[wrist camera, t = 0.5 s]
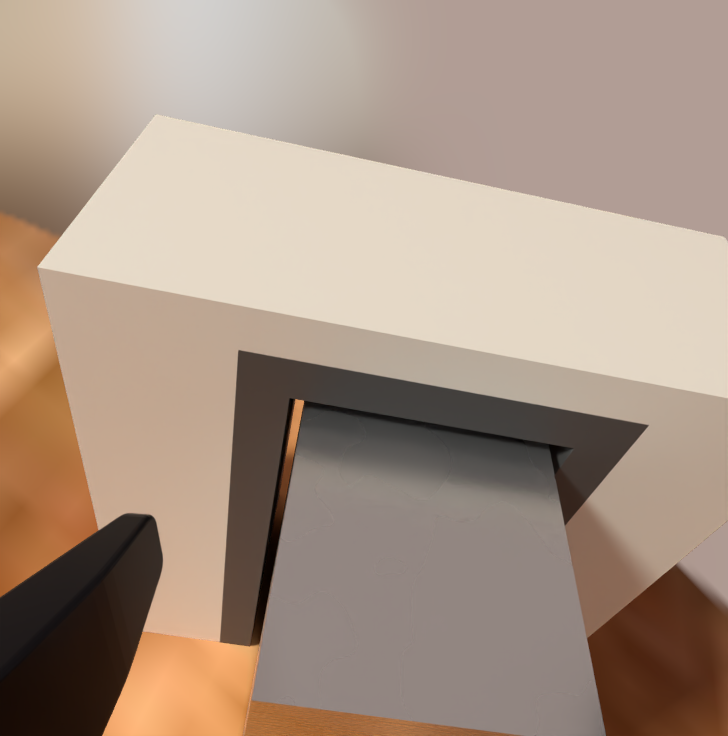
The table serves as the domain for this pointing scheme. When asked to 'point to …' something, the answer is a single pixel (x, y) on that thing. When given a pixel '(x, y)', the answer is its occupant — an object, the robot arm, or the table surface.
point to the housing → (379, 351)
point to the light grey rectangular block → (421, 589)
